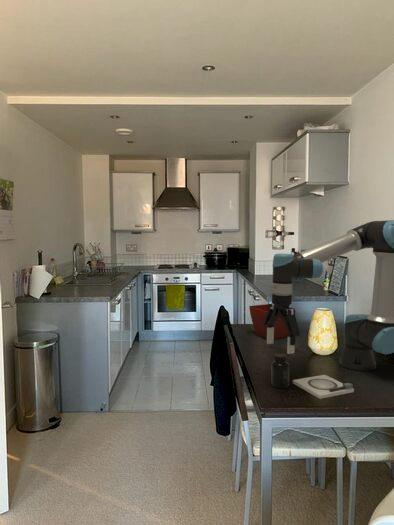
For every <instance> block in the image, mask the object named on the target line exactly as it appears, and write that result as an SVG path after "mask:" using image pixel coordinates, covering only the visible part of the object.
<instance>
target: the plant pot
mask: <svg viewBox="0 0 394 525" xmlns="http://www.w3.org/2000/svg"><path fill="white" fill-rule="evenodd" d="M269 304H270V303H266V304H265V303H264V304H255V305H249V306H248V308H249V314H250V318H251V322H252V326H253V330H254V331H255V334H256V335H257V336H259V337H262V338H263V339H266V340H267V327H266V325H264V320H265V317H266V314H267V311H268V308H269ZM289 309H295V308H293V307H290V306H289ZM288 335H289V333H288V331H287V328H286V326H285V323H284V321H282V319H280V318H279V317H278V319H277V320H276V322H275V323H274V340H275V339H282V338H283V339H284V338H288Z"/></svg>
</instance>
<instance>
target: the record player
mask: <svg viewBox="0 0 394 525" xmlns="http://www.w3.org/2000/svg"><path fill="white" fill-rule="evenodd" d="M292 384H294V385H295V386H297V387H298V388H300V389H303V390H304V391H306V392H307V393H309V394H311V395H312V396H314V397H316V398H318V399H319V400H321V399H325V398H326V399H327V398H331V397H336V396H340V395H346V394H352V393H355V388H353V386H354V385H353V383H350V382H345V383H342V382H340V381H338V380H337V379H335V378H332V377H330V376H328V375H326V374H320V375H314V376H309V377H302V378H298V379H292Z"/></svg>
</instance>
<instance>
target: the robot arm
mask: <svg viewBox="0 0 394 525" xmlns="http://www.w3.org/2000/svg"><path fill="white" fill-rule="evenodd" d="M365 249H372V253H373V255H374V256H375V267H374V275H373V276H374V277H373V279H374V280H373V286H372V300H371V309H370V310H371V311H370V314H358V313H357V314H356V313H355V314H348V315H346V316H345V321H344V347H343V349H342V353H341V356H340V357H339V364H340V365H341V367H343V368H346V369H350V370H353V371H361V372H362V371H363V372H368V371H373V370H376V368H377V361H376V359H375V355H374V351H375V352H376V353H380V354H383V355H390V354H393V353H394V219H390V220H389V219H388V220H373V221H368V222H366V223H364V224H361V225H358V226H356V227H355V228H351V229H349V230H347V232H346V233H345V234H343V235H341V236H338V237H336V238H333V239H331V240H328V241H326V242H322V243H320V244H318V245H315V246H314V247H311V248H308V249H306V250H303V251H301V252H299V253H295V254H292V253H276V254H274V255H273V258H272V284H271V285H272V286H271V287H272V289H271V292H272V294H271V303H268V304H269V308H268V311H267V314H266V317H265V320H264V325H266V327H267V339H266V344H267V345H270V344H273V345H274V340H275V339H274V323H275V322H276V320H277V319H278V317H279V318H280V319H282V321H284V323H285V326H286V328H287V331H288V335H287V343H286V344H287V347H286V348H287V349H286V351H287V352H286V353H287V354H288V355H291V354H295V345H296V337H299V336H300V335H301V334H300V330H299V325H298V322H297V317H296V309H295V308H294V309H289V307H290V305H292V303H293V296H292V294H293V280H294V279H311V280H313V279H318V278H320V277H321V276H322V275H323V272H324V270H323V269H324V267H323V266H324V265H323V263H325V262H327V261H330V260H333V259H335V258H337V257H341V256H342V255H345V254H348V253H349V252H352V251H356V252H358V251H361V250H365Z"/></svg>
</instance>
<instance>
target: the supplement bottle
mask: <svg viewBox="0 0 394 525" xmlns="http://www.w3.org/2000/svg"><path fill="white" fill-rule="evenodd" d="M287 361H288V360H287V355H286V354H285V353H275V354H274V356H273V361H272V362H271V367H270V368H271V369H270V370H271V376H270V377H271V378H270V380H271V383H270V384H271V386H272V387H274V388H276V389H287V388H289V386H290V364H289V362H287Z"/></svg>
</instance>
